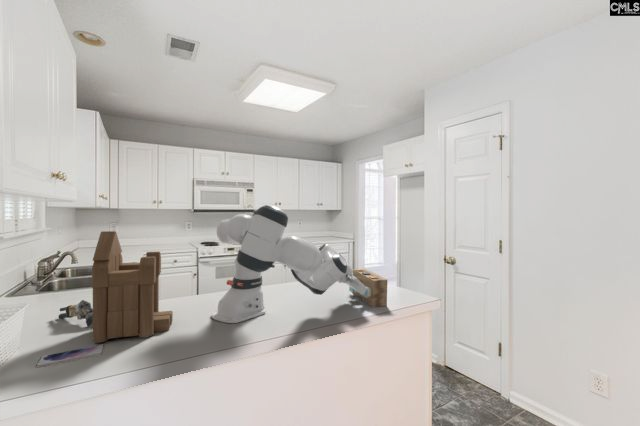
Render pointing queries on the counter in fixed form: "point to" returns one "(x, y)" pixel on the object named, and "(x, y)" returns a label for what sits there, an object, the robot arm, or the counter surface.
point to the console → (372, 287)
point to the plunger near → (367, 292)
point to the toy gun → (79, 312)
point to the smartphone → (69, 356)
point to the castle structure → (125, 293)
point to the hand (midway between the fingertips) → (363, 293)
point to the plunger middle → (353, 289)
